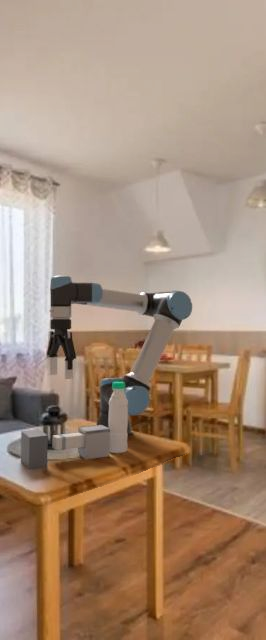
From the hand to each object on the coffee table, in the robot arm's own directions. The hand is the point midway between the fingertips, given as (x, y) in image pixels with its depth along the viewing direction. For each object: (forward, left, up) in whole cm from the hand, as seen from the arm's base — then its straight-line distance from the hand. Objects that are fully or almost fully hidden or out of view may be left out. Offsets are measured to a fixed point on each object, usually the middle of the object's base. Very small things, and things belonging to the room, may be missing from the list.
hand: (60, 376), depth 170 cm
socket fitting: (+18, +4, -26) cm, 32 cm away
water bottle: (-9, +19, -27) cm, 34 cm away
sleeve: (0, +15, -26) cm, 30 cm away
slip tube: (+4, +12, -22) cm, 26 cm away
